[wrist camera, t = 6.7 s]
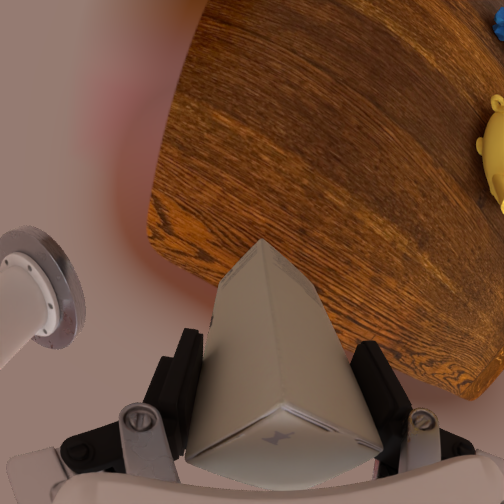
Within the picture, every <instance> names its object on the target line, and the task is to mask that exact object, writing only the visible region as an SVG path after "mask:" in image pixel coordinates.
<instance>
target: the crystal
mask: <svg viewBox="0 0 504 504" xmlns="http://www.w3.org/2000/svg"><path fill="white" fill-rule="evenodd" d="M494 20H495V22H496V23H497V24H495V25H493V26H492V28H493V30H494V32H495V34H496V35H497V37H498V39H499V40H500V41H504V7H501V8H500V9H499V11H498V12H497V13H496V14H495V18H494Z"/></svg>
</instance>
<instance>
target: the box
mask: <svg viewBox="0 0 504 504" xmlns="http://www.w3.org/2000/svg"><path fill="white" fill-rule="evenodd" d="M382 451H383V445H382V442H381V439H380V437H379V434H378V431H377V429H376V426H375V423H374V421H373V418H372V416H371V413H370V411H369V408H368V406H367V403H366V401H365V399H364V396H363V394H362V392H361V389H360V387H359V385H358V382H357V380H356V378H355V375H354V373H353V371H352V368H351V366H350V364H349V362H348V359H347V357H346V355H345V352H344V350H343V348H342V346H341V343H340V341H339V339H338V337H337V335H336V332H335V330H334V328H333V326H332V324H331V322H330V320H329V317H328V315H327V313H326V311H325V309H324V307H323V305H322V303H321V300H320V298H319V296H318V294H317V292H316V290H315V288H314V286H313V284H312V283H311V282H310V281H309V280H308V279H307V278H306V277H305V276H304V275H303V274H302V273H301V272H300V271H299V270H298V269H297V268H296V267H295V266H294V265H292V264H291V263H290V262H289V261H288V260H287V259H286V258H285V257H284V256H283V255H281V254H280V253H279V252H278V251H277V250H276V249H275V248H273V247H272V246H271V245H270V244H269V243H268V242H266V241H265V240H264V239H260V240H259V241H258V242H257V243H256V244H255V245H254V246H253V247H252V248H251V249H250V250H249V251H248V252H247V253H246V254H245V255H244V256H243V257H242V258H241V259H240V260H239V261H238V262H237V263H236V264H235V266H234V267H233V268H232V269H231V270H230V271H229V272H228V273H227V274H226V275H225V277H224V278H223V279H222V280H221V281H220V282H219V285H218V290H217V295H216V299H215V304H214V309H213V314H212V318H211V323H210V329H209V332H208V337H207V341H206V346H205V353H204V356H203V363H202V368H201V372H200V377H199V382H198V386H197V391H196V397H195V402H194V407H193V412H192V417H191V424H190V429H189V436H188V441H187V447H186V453H185V461H186V462H187V463H189V464H191V465H194V466H196V467H199V468H202V469H204V470H207V471H209V472H212V473H214V474H217V475H220V476H223V477H226V478H229V479H232V480H235V481H239V482H242V483H245V484H248V485H252V486H255V487H260V488H264V489H268V490H272V491H291V490H305V489H307V488H310V487H313V486H315V485H318V484H320V483H322V482H325V481H327V480H329V479H331V478H334V477H336V476H338V475H340V474H342V473H344V472H346V471H349V470H351V469H353V468H355V467H357V466H359V465H361V464H363V463H365V462H366V461H368V460H370V459H372V458H374V457H375V456H377V455H378V454H379V453H380V452H382Z"/></svg>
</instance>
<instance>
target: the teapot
mask: <svg viewBox="0 0 504 504" xmlns="http://www.w3.org/2000/svg"><path fill="white" fill-rule="evenodd" d="M498 101H499V102H500V103H501V105H499V104H498ZM491 106H492V109H493V110H494V111H495V113H494V114H493V115H492V116H491V118H490V120H489V122H488V124H487V127H486V129H485V133H484V137H483V138H482V137H479V138H478V139H477V141H476V148H477V151H478V153H479V154H480V155H482V159H483V166H484V171H485V175H486V178H487V181H488V184H489V186H490V192H491V194H492V195H494V197H495V199H496V200H497V202H498V203H499V204H500V207H501V210H502V212H503V214H504V99H503V97H501V96H500V95H493V96H492V97H491Z"/></svg>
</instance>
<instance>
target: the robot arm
mask: <svg viewBox="0 0 504 504" xmlns="http://www.w3.org/2000/svg"><path fill="white" fill-rule="evenodd" d="M59 319H60V310H59V305H58V301H57V297H56V294H55V292H54V289H53V287H52V285H51V283H50V281H49V279H48V277H47V276H46V274H45V273H44V271H43V270H42V269H41V267H40V266H39V265H38V264H37V263H36V262H35V261H34V260H33V259H32V258H31V257H29V256H28V255H26V254H24V253H21V252H13V253H11V254H9V255H7V256H6V257H5V258H4V259H3V261H2V263H1V266H0V370H1V369H2V368H3V367H4V366H5V365H6V364H7V362H8V361H9V360H10V359H11V358H12V357H13V356H14V355H15V354H16V353H17V352H18V351H19V350H20V349H21V348H22V347H23V346H24V345H25V344H26V343H27V342H28V341H29V340H30V339H31V338H32V337H33V336H34V335H38V336H45V337H46V336H49V335H51V334H52V333H53V332H54V331H55V330H56V328H57V327H58V324H59ZM202 363H203V334H199V331H198V330H195V329H189V328H184V331H183V333H182V336H181V339H180V341H179V344H178V347H177V349H176V352H175V355H174V357H173V358H172V357H166V356H162V357H161V359H160V361H159V364H158V366H157V368H156V371H155V373H154V376H153V378H152V381H151V383H150V385H149V388H148V390H147V393H146V395H145V398H144V400H143V403H133V404H130V405H127V406H125V407H124V408H123V409H122V410H121V412H120V414H119V421H117V422H114V423H111V424H108V425H105V426H103V427H100V428H97V429H94V430H91V431H88V432H85V433H81V434H78V435H75V436H72V437H70V438H67V439H66V440H65V441H64V442H63V444H62V445H61V447H60V448H57V449H55V448H54V447H50V448H46V449H42V450H39V451H35V452H31V453H26V454H23V455H18V456H14V457H12V458H10V460H9V461H8V462H7V466H6V470H7V474H8V478H9V481H10V484H11V487H12V490H13V492H14V495H15V498H16V500H17V503H18V504H504V459H502V458H500V457H497V456H494V455H492V454H489V453H486V452H484V451H481V450H479V449H476V450H475V449H474V447H473V445H472V443H471V442H470V441H468V440H466V439H464V438H462V437H459V436H457V435H455V434H452V433H450V432H448V431H445V430H443V429H441V428H439V422H438V418H437V416H436V415H435V414H434V413H433V412H432V411H430V410H428V409H425V408H416V409H414V410H413V409H412V407H411V405H412V404H411V403H410V401H409V399H408V397H407V395H406V393H405V391H404V390H403V388H402V386H401V384H400V382H399V381H398V379H397V377H396V375H395V373H394V372H393V370H392V368H391V366H390V365H389V363H388V361H387V359H386V358H385V356H384V354H383V353H382V351H381V349H380V347H379V346H378V344H377V342H376V341H362V342H361V344H358V345H357V348H356V350H355V353H354V355H353V358H352V361H351V363H350V366H351V368H352V371H353V373H354V375H355V378H356V380H357V382H358V385H359V387H360V389H361V392H362V394H363V396H364V399H365V401H366V403H367V406H368V408H369V411H370V413H371V416H372V418H373V421H374V423H375V426H376V429H377V431H378V434H379V437H380V439H381V442H382V445H383V451H382V452H380V453H379V454H378V455H377V456H375V457H374V458H375V464H374V470H373V475H372V480H371V481H366V482H361V483H355V484H350V485H343V486H336V487H329V488H319V489H308V490H291V491H247V490H230V489H219V488H210V487H201V486H193V485H186V484H181V483H180V480H179V477H178V474H177V471H176V468H175V464H174V461H175V460H177V459H179V455H180V456H183V455H184V450H185V449H186V447H187V441H188V436H189V429H190V424H191V417H192V412H193V407H194V402H195V397H196V391H197V386H198V382H199V377H200V372H201V368H202Z"/></svg>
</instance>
